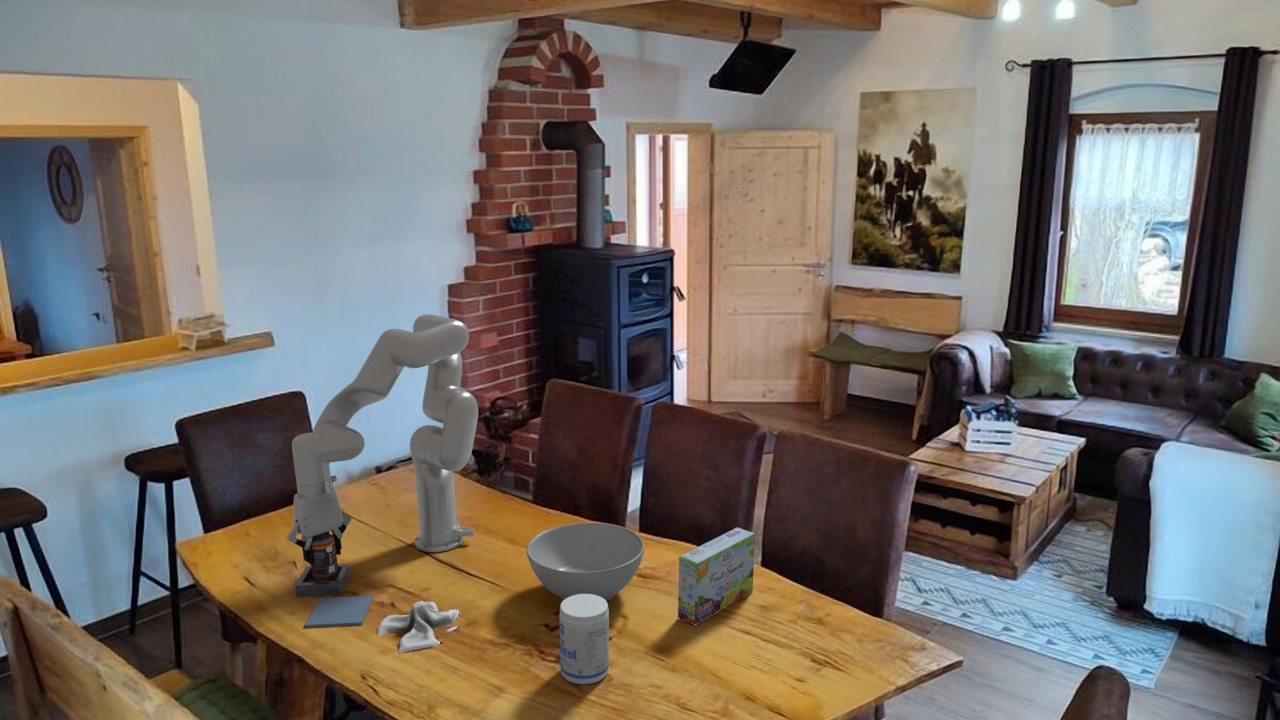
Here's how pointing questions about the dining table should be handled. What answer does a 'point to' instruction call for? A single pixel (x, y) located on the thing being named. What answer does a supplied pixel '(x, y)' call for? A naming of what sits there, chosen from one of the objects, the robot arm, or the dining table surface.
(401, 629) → the cloth
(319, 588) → the collar
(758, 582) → the dining table surface
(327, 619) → the board
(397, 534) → the dining table surface
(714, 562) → the snack box
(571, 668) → the supplement tub
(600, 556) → the decorative bowl
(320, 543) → the supplement bottle
